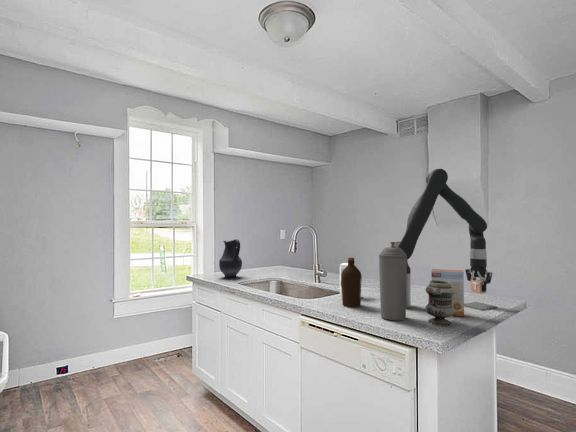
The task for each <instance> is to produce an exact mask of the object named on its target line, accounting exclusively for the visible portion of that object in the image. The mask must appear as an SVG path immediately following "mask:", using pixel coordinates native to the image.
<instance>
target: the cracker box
mask: <svg viewBox="0 0 576 432" xmlns="http://www.w3.org/2000/svg"><path fill="white" fill-rule="evenodd" d="M464 273H465V272H464V270H461V269H460V270H458V269H442V268H441V269H439V268H438V269H437V268H433V269H432V270H431V281H432V280H443V281H448V282H450V283H451V287H452V288H453V289H454V290H455V294H454V295H453V296H452V306H453V307H454V309H455V314H454V315H453V316H452V317H461V318H462V317H465V306H464V304H465V285H464V282H465V279H464V278H465V277H464Z"/></svg>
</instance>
